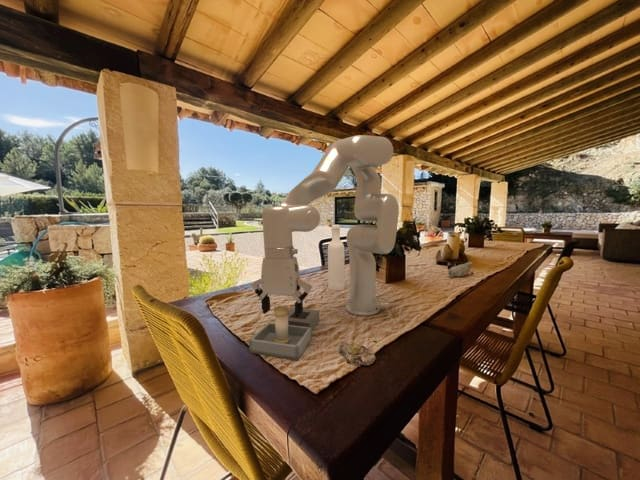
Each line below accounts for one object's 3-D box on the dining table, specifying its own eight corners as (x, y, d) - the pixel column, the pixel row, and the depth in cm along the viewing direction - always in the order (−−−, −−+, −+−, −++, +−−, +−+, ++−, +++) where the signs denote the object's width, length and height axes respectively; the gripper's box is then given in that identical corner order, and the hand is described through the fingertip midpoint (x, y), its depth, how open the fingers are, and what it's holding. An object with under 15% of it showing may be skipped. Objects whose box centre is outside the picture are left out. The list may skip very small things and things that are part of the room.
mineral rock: (383, 348, 66) (366, 353, 60) (381, 366, 65) (364, 372, 60) (350, 336, 73) (332, 339, 68) (348, 352, 73) (329, 356, 67)
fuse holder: (319, 320, 88) (319, 310, 87) (309, 334, 78) (309, 323, 78) (292, 317, 91) (291, 307, 90) (279, 330, 81) (279, 319, 81)
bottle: (324, 289, 120) (323, 225, 116) (333, 284, 127) (332, 224, 123) (340, 292, 116) (339, 225, 112) (347, 287, 123) (347, 224, 119)
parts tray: (312, 338, 75) (311, 327, 75) (298, 360, 65) (297, 347, 64) (268, 333, 79) (268, 322, 79) (249, 352, 69) (248, 340, 68)
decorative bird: (445, 277, 137) (445, 263, 136) (466, 273, 143) (467, 260, 142) (453, 279, 132) (454, 265, 131) (475, 276, 138) (476, 262, 137)
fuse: (291, 340, 73) (290, 306, 72) (285, 347, 70) (284, 312, 68) (278, 338, 75) (277, 305, 73) (272, 345, 71) (271, 310, 69)
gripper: (313, 250, 70) (316, 310, 72) (257, 249, 75) (261, 305, 77) (304, 256, 63) (307, 322, 65) (242, 254, 68) (247, 316, 70)
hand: (282, 313), depth 71 cm, fingers open, 9 cm apart
